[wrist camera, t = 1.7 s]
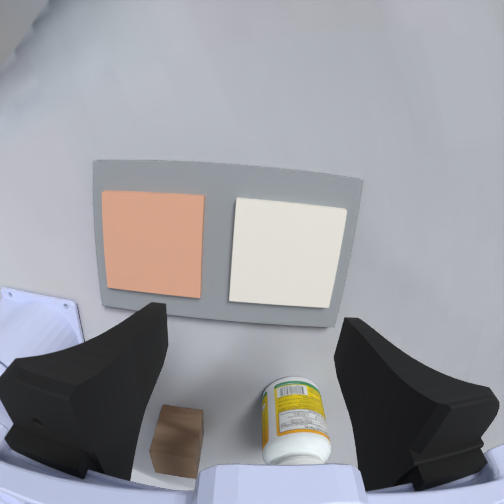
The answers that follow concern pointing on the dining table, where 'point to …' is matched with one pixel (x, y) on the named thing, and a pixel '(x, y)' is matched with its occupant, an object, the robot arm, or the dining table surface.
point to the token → (178, 441)
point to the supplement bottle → (294, 423)
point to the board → (224, 239)
